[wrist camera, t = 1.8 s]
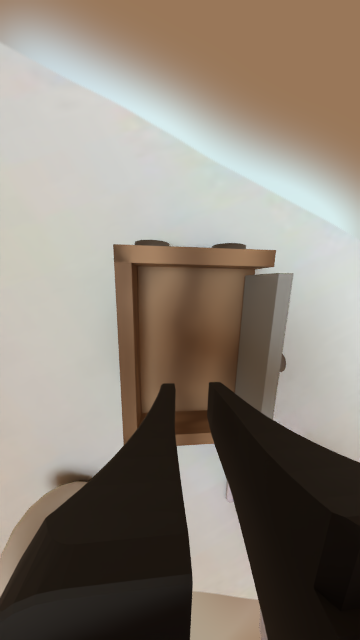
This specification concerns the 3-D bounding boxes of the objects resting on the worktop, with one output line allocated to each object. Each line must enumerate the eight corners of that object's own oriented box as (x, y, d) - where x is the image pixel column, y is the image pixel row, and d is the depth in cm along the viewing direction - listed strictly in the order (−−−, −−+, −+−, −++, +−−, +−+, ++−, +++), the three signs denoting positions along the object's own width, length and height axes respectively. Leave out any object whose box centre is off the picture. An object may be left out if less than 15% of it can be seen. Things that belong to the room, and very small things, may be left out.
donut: (130, 482, 23) (106, 628, 14) (121, 503, 24) (92, 656, 14) (49, 464, 22) (-44, 613, 12) (42, 486, 22) (-53, 646, 13)
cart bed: (247, 250, 18) (277, 239, 14) (232, 411, 22) (252, 448, 17) (127, 246, 17) (112, 232, 13) (133, 416, 21) (124, 456, 16)
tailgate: (264, 276, 17) (304, 273, 12) (249, 405, 20) (278, 446, 15) (245, 275, 17) (278, 273, 12) (233, 406, 19) (256, 447, 15)
